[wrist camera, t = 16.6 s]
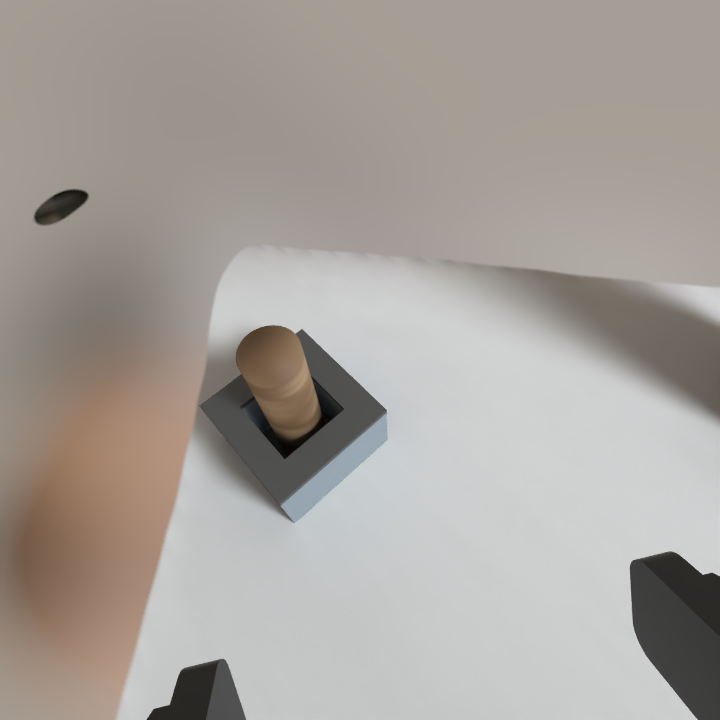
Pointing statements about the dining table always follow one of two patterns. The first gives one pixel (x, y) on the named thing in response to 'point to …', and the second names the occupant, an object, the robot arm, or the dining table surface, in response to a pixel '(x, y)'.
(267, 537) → the dining table surface
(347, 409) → the collar
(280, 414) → the walnut peg
